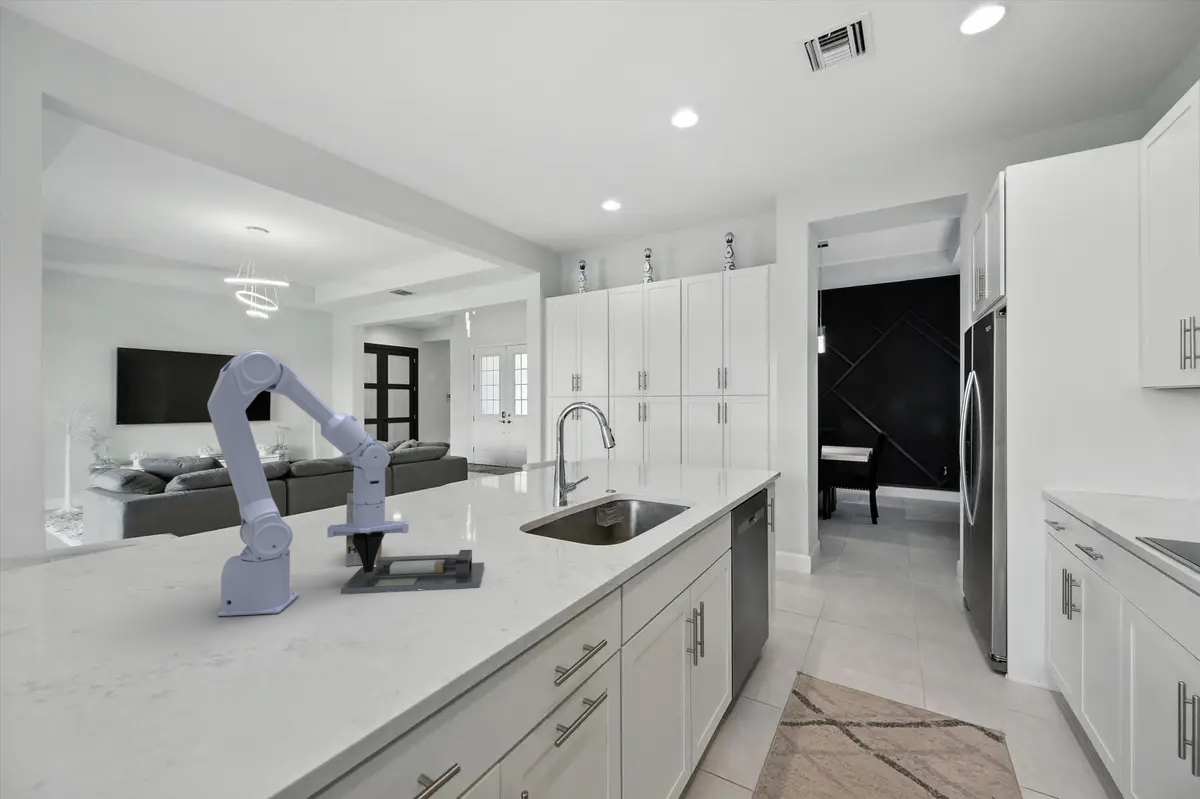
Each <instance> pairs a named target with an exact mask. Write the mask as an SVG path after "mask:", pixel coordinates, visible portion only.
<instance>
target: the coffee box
mask: <svg viewBox="0 0 1200 799" xmlns="http://www.w3.org/2000/svg"><path fill="white" fill-rule="evenodd" d="M348 523H353V486H352V487H351V488H350V489H348V490H347V491H346V524H348ZM345 537H346V542H345V544H346V545H345V546H346V547H345V551H346V552H345V553H346V554H345V566H347V567H353V566H354V567H355V566H363V564H362V561H361V558H360V556H359V553H358V551H357V549H356V548H355V546H354V545H353V542H352V540H353V535H347V536H345ZM382 543H383V540H382V541H381V544H380V546H379V549H378V551H377V554H376V558H375V562H374V565H376V560H377V559H378V558H379V557H381V553H382V550H383V549H382V548H383V544H382Z"/></svg>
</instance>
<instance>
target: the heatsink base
mask: <svg viewBox="0 0 1200 799" xmlns="http://www.w3.org/2000/svg"><path fill="white" fill-rule="evenodd" d="M424 560H445V571H444V574H422V575H398V576H390V566H391V565H392V563H393V562H397V561H424ZM483 569H485V562H473V549H460V550H459V552H458V553H455V554H431V555H429V554H428V555H425V554H424V555H422V554H421V555H402V556H401V555H400V556H396V555H395V556H380V557H379V558H378V559H377V560H376V564H375V566H374V569H373V571H372V572H368V573H364V569H363V566H362V567H360V568H359V569H358V570H357V571H356V572H355V573H354V574H353V575H352V576H351V577H350V579H349V580H348V581H347V582H346V583H345V584H344V585H343V586H341V588H340V595H343V594H342V593H351V594H361V593H360V592H373V593H383V592H382V591H394V592H403V591H402V590H416V591H419V590H418V589H437V590H452V589H451V588H458V589H473V588H474V589H478V588H480V585H481V582H482V577H483V573H484V570H483ZM445 588H446V589H445ZM449 588H450V589H449ZM400 590H401V591H400ZM358 592H359V593H358Z"/></svg>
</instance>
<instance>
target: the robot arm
mask: <svg viewBox="0 0 1200 799" xmlns="http://www.w3.org/2000/svg"><path fill="white" fill-rule="evenodd" d="M219 371H220V372H219V375H218V379H217V381H216V383H215V385H214V387H213V390H212V392H211V394H210V396H209V399H208V401H207V405H206V406H207V411H208V413H209V417H210V420H211V422H212V426H213V429H214V431H215V435H216V438H217V441H218V444H219V447H220V450H221V454H222V457H223V459H224V462H225V466H226V469H227V471H228V472H227V473H228V475H229V478H230V481H231V484H232V487H233V488H232V489H233V490H234V494H235V496H236V500H237V503H238V507H239V515H240V518H241V524H240V527H239V528H240V529H239V537H240V539H241V541H242V542H243V543H244V544H245V545H246V546H245V547H244V548H243V550H242V552H241V553H240V555H232V556H230V557H229V558H228V559H227V561H225V563H224V565H223V568H222V572H221V575H220V611H219V612H218V613H217V616H219V617H220V616H221V617H223V616H226V617H227V616H244V615H245V616H246V615H262V614H264V615H267V614H279V613H281V612H282V611H283V610H285V609H286V607H288V606H290V604H292V602H294V600H296V599H298V597H299V596H300V593H299V592H291V591H290V590H291V587H290V586H291V585H290V584H291V582H290V581H291V580H290V579H291V578H290V577H291V575H290V574H291V548H290V546H291V544H292V541H293V536H294V535H293V530H292V528H291V526H290V525H289V524H288V523H286V522H285V520H284V519H282V516H281V514H280V511H279V508H278V507H277V505H276V502H275V501H274V498H273V496H272V493H271V492H272V491H270V490H271V489H270V487H269V484H268V480H267V477H266V474H265V471H264V468H263V464H262V461H261V457H260V454H259V451H258V449H257V445H256V441H255V439H254V435H253V432H252V430H251V429H252V428H251V425H250V422H249V419H248V416H247V413H246V410H247V408H248V407H249V406H250V405H251V404H252V402H253V401H254V400H255V398H257V396H258V395H259V394H260V393H261V392H264V391H266V392H270V393H274V394H279V395H282V396H285V397H286V398H287V399H289V400H290V401H291V402H292V403H293V404H295V405H296V406H297V407H299V408H300V409H301V410H302V411H303V412H305V414H307V415H308V416H310V417H311V418H312V419H313V420H314V421H316V422H317V423H318V424H319V425H320V435H321V436H322V437H323V438H324V439H325V440H327V441H328V443H330V444H331V445H332V446H334V447H335V448H336V449H337V450H338V451H340V452H341V453H342V454H343V455H344V456H345V457H347V458H348V462H349V463H350V465H351V466H354V467H353V480H352V485H353V486H352V487H353V523H348V524H347V523H340V524H330V525H329V526H328V527H327V538H333V537H343V536H345V537H346V536H347V535H353V540H352V542H353V545H354V546H355V548H356V549H357V551H358V553H359V556H360V558H361V561H362V564H363V565H362V567H363V569H364V573H368V572H372V571H373V569H374V567H375V564H374V562H375V558H376V554H377V551H378V549H379V546H380V544H381V541H382V542H383V540H384V537H385V535H386V534H400V533H401V534H408V532H409V528H410V527H409V525H410V524H409V522H410V521H396V520H395V521H393V520H392V521H390V520H386V505H385V504H386V503H385V502H386V468H387V467H388V466H389V464H390V462H391V455H389V452H388V451H389V450H388V449H387V447H386V446H385V445H384V444H382V443H380V442H376V441H374V439H375V435H374V434H372V433H368V432H367V431H366V430H365V429H364V428H363V427H361V426H360V425H359V424H358V423H357V421H358V418H357V417H356V416H354V414H353V415H351V414H350V415H348V414H347V413H346V412H335V411H334V410H332V408H331V407H329V405H327V403H326V402H324V400H323V399H321V398H320V397H319V395H317V394H316V392H315V391H313V390H312V388H310V387H309V386H308V384H307V383H305V382H304V381H303V380H302V379H301V377H299V376H298V375H297V374H296V373H295V372H294V371H293V370H292V369H291V368H290V367H289V366H287V365H285V364H284V362H283V363H282V362H279V360H278V359H277V357H275V355H273V354H272V353H270V352H268V351H265V350H260V349H258V350H257V349H255V350H254V349H253V350H249V351H247V352H244V353H240V354H237V355H235V356H233V357H232V358H231V359H230V360H229V361H228V362H227V363H226V364H225V365H224V366H223V367H222V368H221V369H220V370H219Z"/></svg>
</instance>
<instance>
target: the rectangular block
mask: <svg viewBox="0 0 1200 799" xmlns="http://www.w3.org/2000/svg"><path fill="white" fill-rule="evenodd" d="M444 571H445V560H424V561H397V562H393V563H392V565H391V566H390V576H398V575H422V574H444Z"/></svg>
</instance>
